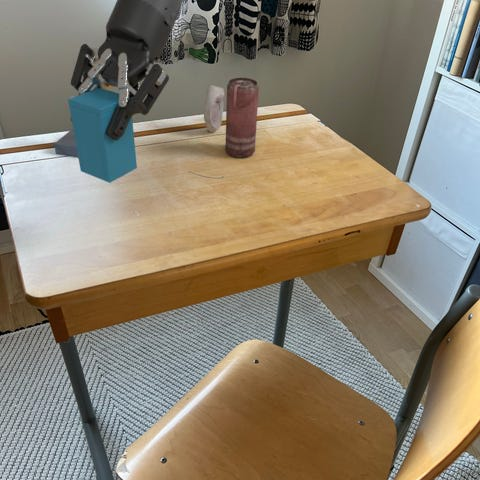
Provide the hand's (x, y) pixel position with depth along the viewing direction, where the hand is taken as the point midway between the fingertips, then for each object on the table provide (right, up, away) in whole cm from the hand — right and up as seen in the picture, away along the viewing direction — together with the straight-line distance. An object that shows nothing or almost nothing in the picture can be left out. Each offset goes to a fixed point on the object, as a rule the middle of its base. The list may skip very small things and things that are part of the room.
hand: (93, 130), depth 68 cm
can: (+19, +9, +39) cm, 44 cm away
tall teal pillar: (+1, -4, +5) cm, 7 cm away
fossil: (+13, +16, +45) cm, 50 cm away
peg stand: (-13, +10, +37) cm, 40 cm away
